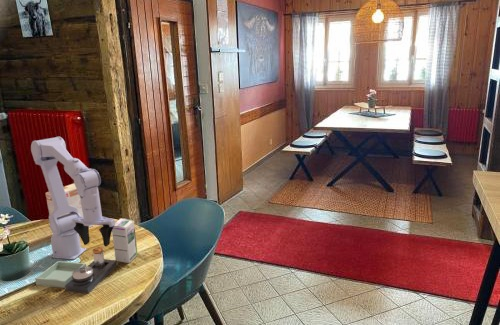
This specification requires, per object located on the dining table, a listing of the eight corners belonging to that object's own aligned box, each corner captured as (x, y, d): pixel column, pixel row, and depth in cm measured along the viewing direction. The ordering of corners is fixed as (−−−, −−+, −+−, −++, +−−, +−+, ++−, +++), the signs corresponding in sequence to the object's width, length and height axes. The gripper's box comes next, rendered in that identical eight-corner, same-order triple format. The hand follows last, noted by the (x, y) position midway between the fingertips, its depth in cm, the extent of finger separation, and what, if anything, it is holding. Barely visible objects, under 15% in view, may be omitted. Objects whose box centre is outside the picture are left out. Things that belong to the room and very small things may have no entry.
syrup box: (129, 263, 136) (126, 227, 131) (114, 260, 137) (110, 225, 132) (137, 254, 141) (134, 219, 136) (123, 252, 143) (119, 217, 138)
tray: (36, 285, 125) (35, 278, 124) (59, 267, 135) (58, 261, 134) (66, 288, 122) (64, 281, 122) (86, 270, 133) (85, 263, 132)
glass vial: (93, 272, 131) (90, 251, 129) (99, 267, 134) (96, 247, 132) (102, 273, 130) (99, 252, 128) (107, 268, 133) (104, 247, 131)
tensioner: (65, 291, 121) (62, 274, 119) (97, 263, 137) (94, 248, 135) (88, 293, 119) (85, 276, 118) (117, 265, 135) (115, 250, 134)
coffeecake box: (83, 223, 172) (77, 181, 167) (94, 226, 168) (87, 184, 163) (52, 236, 159) (44, 192, 154) (63, 240, 156) (55, 195, 151)
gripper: (63, 210, 124) (70, 248, 127) (104, 212, 121) (109, 251, 124) (77, 202, 130) (83, 238, 134) (116, 204, 127) (121, 241, 131)
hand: (96, 244), depth 130 cm, fingers open, 7 cm apart
